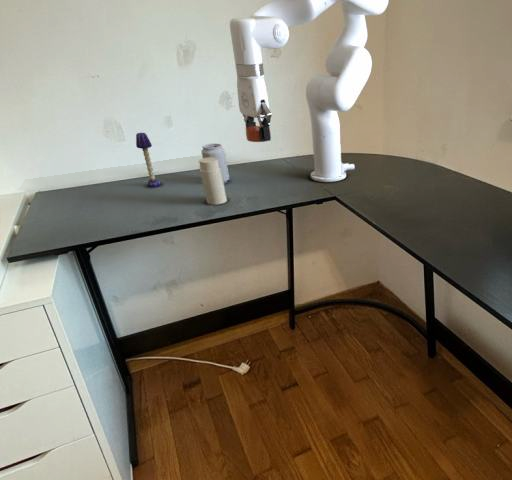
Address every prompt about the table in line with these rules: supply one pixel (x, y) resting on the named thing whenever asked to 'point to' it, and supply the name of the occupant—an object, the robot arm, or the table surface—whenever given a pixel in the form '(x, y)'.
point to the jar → (212, 181)
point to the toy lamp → (147, 157)
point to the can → (217, 152)
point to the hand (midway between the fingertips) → (258, 138)
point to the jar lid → (253, 134)
